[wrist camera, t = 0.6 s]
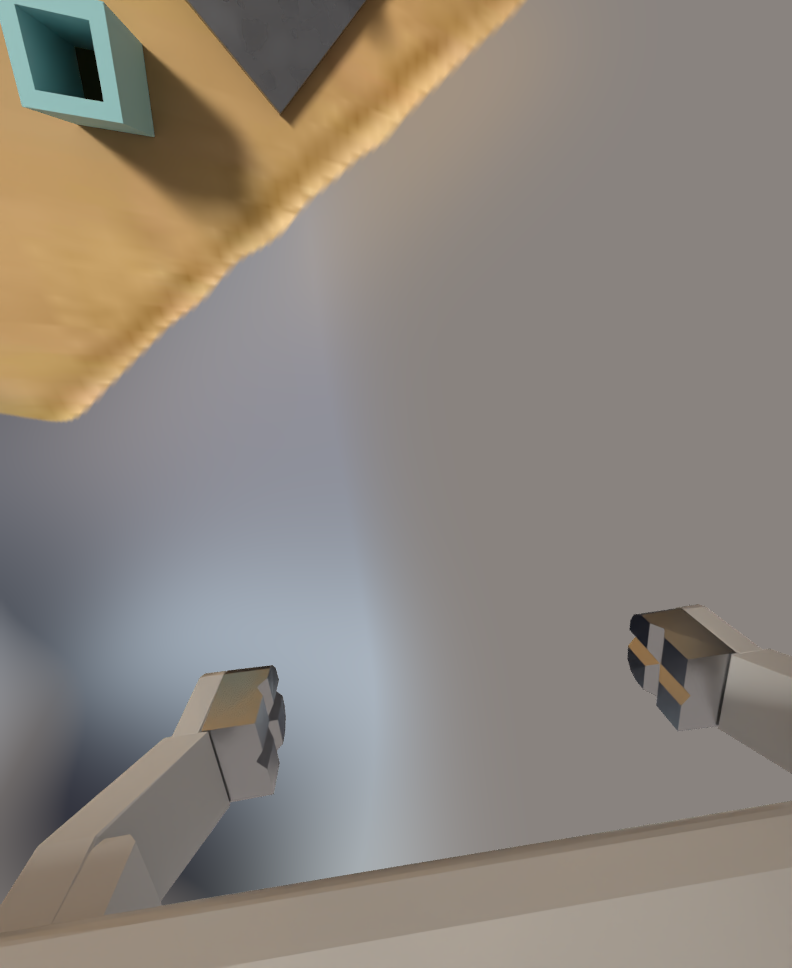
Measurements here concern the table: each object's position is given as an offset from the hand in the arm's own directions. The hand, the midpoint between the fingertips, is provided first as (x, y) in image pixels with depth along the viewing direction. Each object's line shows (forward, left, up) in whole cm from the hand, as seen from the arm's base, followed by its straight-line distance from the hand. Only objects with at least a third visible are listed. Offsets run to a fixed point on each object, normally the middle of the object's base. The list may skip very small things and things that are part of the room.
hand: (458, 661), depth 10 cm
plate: (-19, +19, -47) cm, 54 cm away
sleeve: (-22, 0, -47) cm, 52 cm away
